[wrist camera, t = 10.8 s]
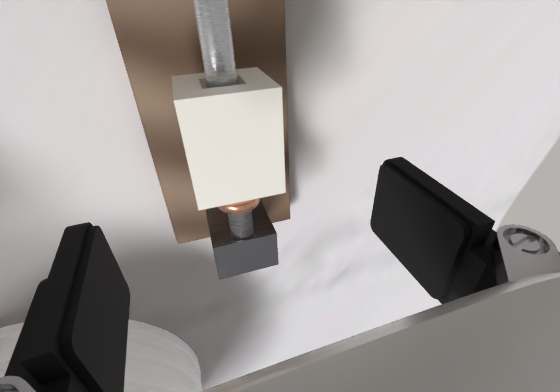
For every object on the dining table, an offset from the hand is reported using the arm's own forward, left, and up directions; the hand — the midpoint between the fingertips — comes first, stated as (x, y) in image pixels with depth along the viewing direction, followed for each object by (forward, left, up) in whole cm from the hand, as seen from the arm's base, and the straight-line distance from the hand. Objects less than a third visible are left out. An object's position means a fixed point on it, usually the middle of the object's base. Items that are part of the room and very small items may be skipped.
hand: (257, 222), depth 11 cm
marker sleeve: (0, +1, -11) cm, 11 cm away
